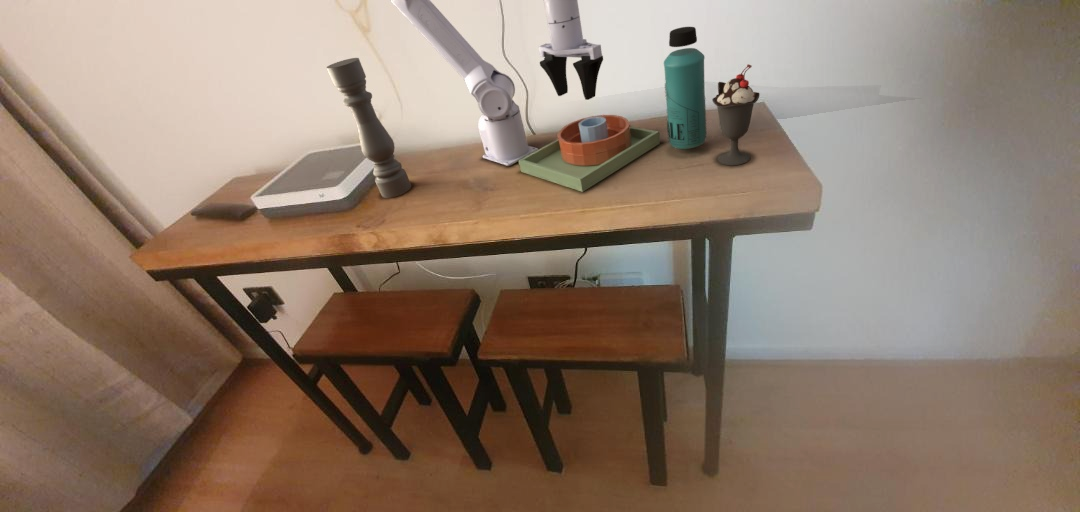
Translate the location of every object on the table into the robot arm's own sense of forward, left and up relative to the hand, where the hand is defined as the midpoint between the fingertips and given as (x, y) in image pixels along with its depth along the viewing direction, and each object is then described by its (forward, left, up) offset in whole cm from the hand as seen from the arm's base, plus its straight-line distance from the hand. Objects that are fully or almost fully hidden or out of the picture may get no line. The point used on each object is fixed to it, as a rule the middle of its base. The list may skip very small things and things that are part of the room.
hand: (576, 96), depth 92 cm
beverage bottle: (+21, +5, -10) cm, 24 cm away
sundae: (+30, +5, -10) cm, 32 cm away
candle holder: (-21, -33, -10) cm, 40 cm away
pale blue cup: (+7, -3, -9) cm, 11 cm away
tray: (+7, -5, -9) cm, 12 cm away
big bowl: (+7, -3, -9) cm, 12 cm away
